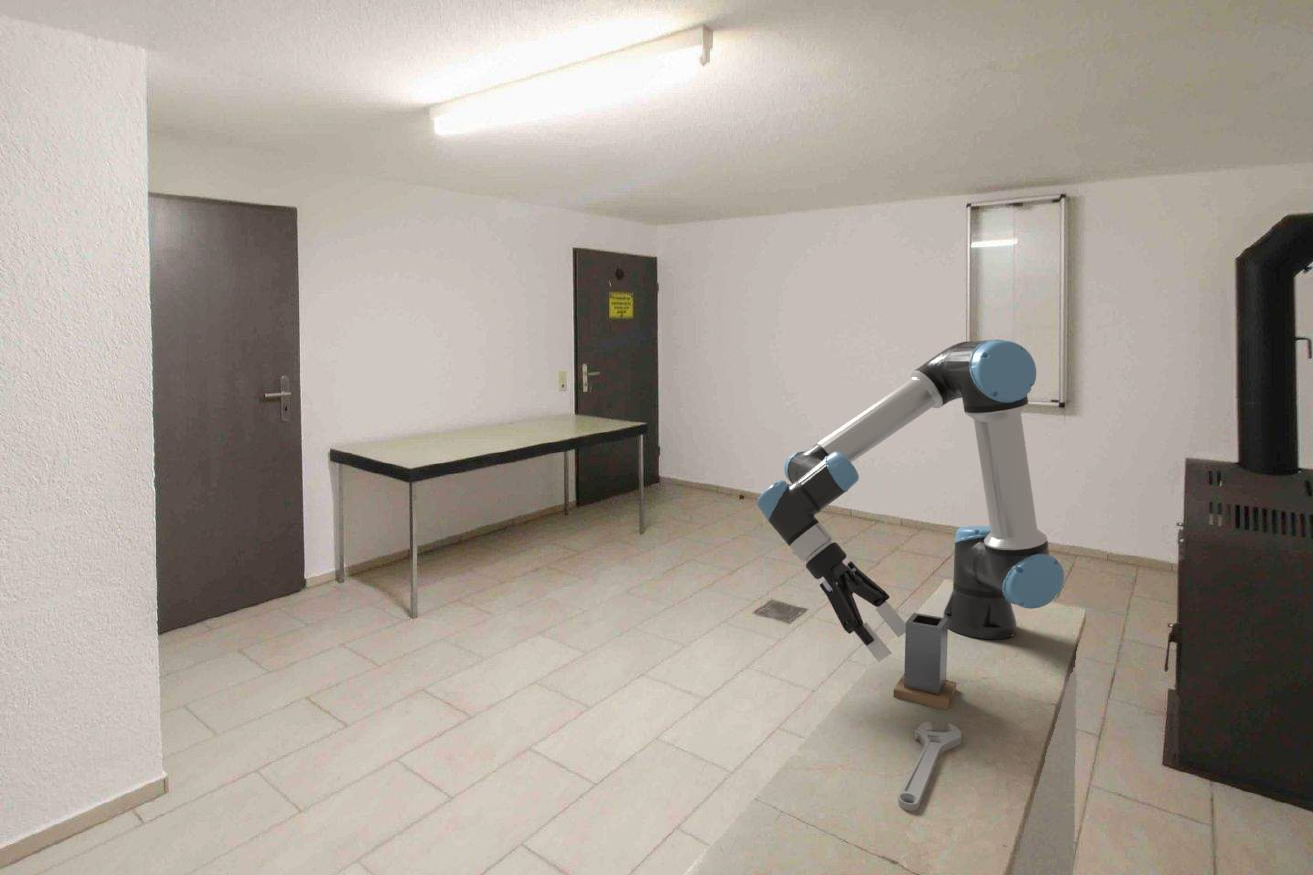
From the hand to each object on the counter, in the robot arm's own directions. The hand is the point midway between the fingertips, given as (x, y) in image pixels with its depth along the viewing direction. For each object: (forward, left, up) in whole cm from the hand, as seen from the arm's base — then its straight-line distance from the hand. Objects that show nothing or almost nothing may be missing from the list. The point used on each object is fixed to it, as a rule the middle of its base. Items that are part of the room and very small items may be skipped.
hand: (895, 644), depth 132 cm
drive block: (-2, +5, -9) cm, 10 cm away
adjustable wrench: (+20, +16, -9) cm, 27 cm away
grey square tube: (-2, +5, -6) cm, 8 cm away
